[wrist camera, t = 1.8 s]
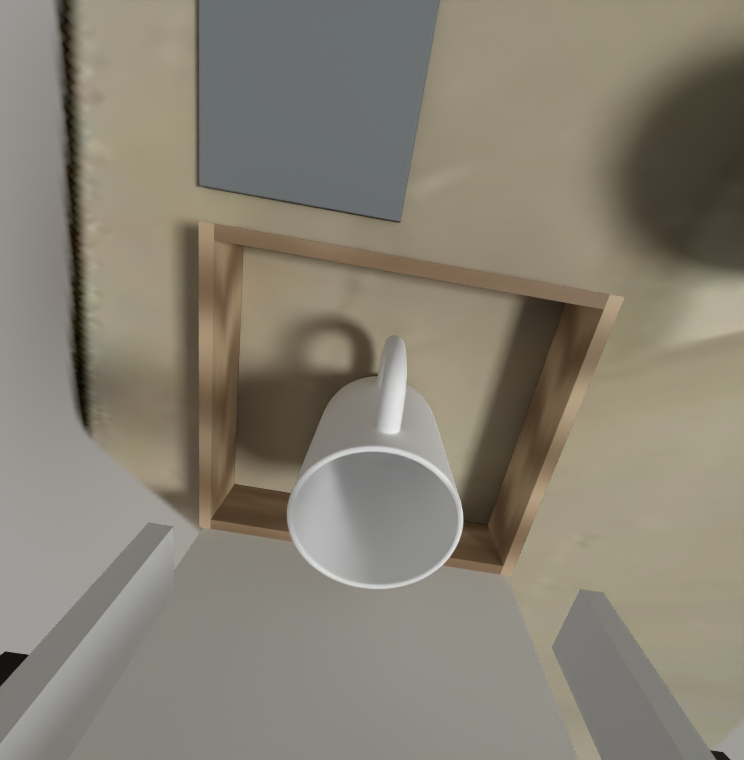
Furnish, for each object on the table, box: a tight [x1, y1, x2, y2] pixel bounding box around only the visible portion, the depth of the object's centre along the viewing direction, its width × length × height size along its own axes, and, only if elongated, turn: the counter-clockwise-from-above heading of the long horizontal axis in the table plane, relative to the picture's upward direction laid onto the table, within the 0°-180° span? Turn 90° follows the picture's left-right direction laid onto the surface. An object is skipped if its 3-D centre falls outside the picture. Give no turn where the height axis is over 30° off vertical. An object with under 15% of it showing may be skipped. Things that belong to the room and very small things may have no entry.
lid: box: [68, 528, 578, 760], centre depth 17 cm, size 3×22×24 cm, turn 81°
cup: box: [287, 335, 463, 589], centre depth 20 cm, size 8×12×10 cm
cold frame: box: [199, 221, 624, 576], centre depth 23 cm, size 20×23×4 cm
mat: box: [199, 0, 440, 222], centre depth 18 cm, size 16×12×1 cm
